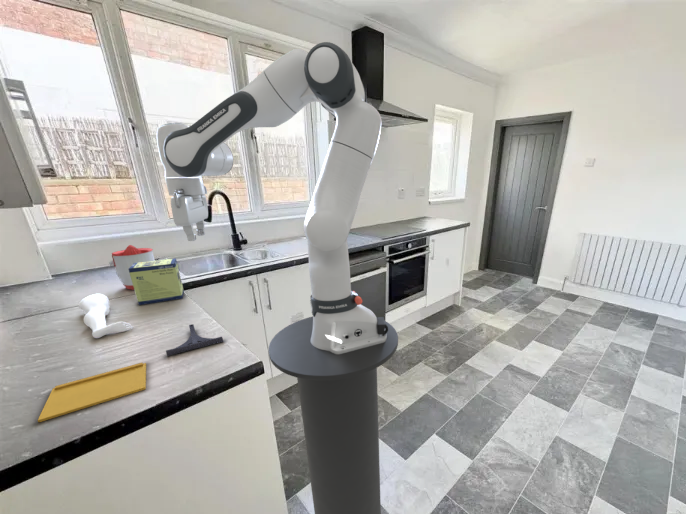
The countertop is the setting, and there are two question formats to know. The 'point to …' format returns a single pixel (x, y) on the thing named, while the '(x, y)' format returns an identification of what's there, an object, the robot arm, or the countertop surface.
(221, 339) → the bracket
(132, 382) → the tray
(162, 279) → the protein box
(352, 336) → the robot arm
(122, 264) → the citrus juicer
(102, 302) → the leg
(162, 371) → the countertop surface
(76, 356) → the countertop surface
